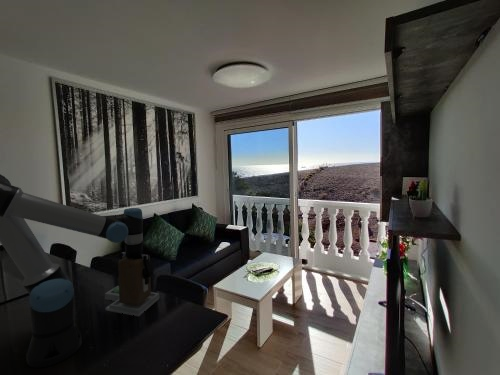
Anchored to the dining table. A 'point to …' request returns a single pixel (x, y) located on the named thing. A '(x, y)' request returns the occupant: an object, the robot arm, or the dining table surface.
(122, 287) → the wooden block
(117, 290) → the button
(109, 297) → the button housing
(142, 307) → the shallow gray rectangular tray
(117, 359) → the dining table surface
